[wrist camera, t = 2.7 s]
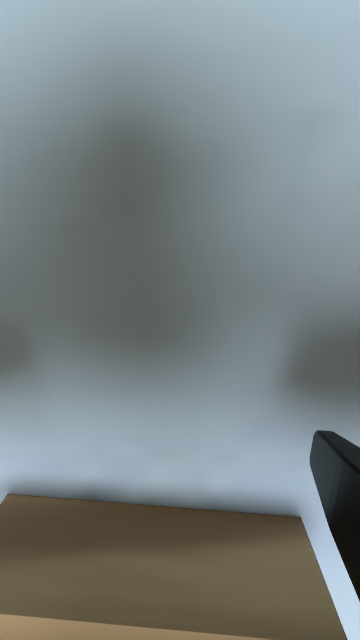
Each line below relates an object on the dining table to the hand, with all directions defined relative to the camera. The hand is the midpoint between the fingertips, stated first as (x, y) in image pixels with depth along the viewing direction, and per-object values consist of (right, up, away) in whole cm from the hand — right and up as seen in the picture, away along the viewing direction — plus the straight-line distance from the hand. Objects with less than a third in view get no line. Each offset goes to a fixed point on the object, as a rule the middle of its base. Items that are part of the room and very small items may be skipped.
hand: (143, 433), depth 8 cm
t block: (0, -10, +6) cm, 11 cm away
